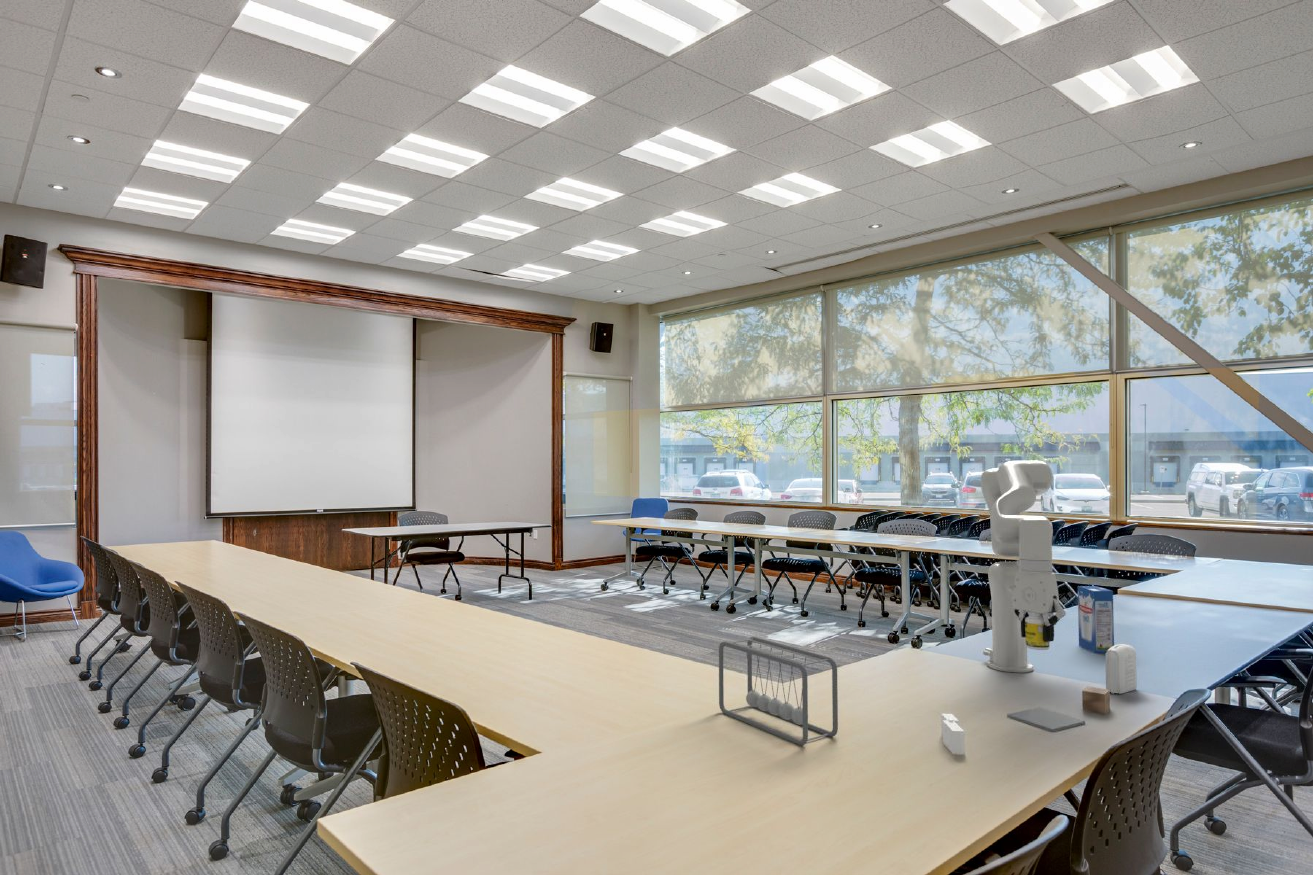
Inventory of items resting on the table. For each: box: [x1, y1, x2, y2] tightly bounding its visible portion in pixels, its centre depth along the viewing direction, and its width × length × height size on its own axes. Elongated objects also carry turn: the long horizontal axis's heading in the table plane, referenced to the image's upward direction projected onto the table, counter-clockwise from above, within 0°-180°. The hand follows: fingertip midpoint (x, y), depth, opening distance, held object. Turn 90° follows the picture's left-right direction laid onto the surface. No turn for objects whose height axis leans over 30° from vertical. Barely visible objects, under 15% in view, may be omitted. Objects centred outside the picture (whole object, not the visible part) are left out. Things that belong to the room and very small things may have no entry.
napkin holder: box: [940, 713, 965, 755], centre depth 170 cm, size 15×11×6 cm
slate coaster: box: [1006, 706, 1086, 733], centre depth 185 cm, size 12×12×1 cm
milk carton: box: [1077, 585, 1115, 654], centre depth 256 cm, size 10×6×20 cm, turn 179°
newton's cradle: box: [718, 636, 839, 746], centre depth 183 cm, size 30×10×18 cm, turn 34°
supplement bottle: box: [1025, 612, 1050, 651], centre depth 195 cm, size 5×5×10 cm
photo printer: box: [1105, 643, 1138, 695], centre depth 210 cm, size 10×4×12 cm, turn 123°
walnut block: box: [1081, 685, 1111, 716], centre depth 193 cm, size 5×5×5 cm
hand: (1037, 638), depth 195 cm, fingers closed on supplement bottle, 5 cm apart
